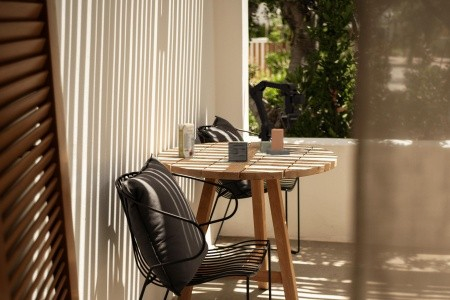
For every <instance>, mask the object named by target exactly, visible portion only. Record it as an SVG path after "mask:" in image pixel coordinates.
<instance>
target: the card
mask: <svg viewBox="0 0 450 300" xmlns="http://www.w3.org/2000/svg"><path fill="white" fill-rule="evenodd" d="M291 151H292V152H294V153H298V152H299V153H301V152H302V153H304V152H305V153H306V152H308V150H307V149H304V148H303V149H302V148H301V149H298V148H297V149H291Z"/></svg>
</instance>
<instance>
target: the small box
mask: <svg viewBox="0 0 450 300" xmlns="http://www.w3.org/2000/svg"><path fill="white" fill-rule="evenodd" d="M227 145H228V146H227V148H228V149H227V150H228V154H227V155H228V158H227V159H228V160H227V163H228V162H229V163H230V162H232V163H233V162H234V163H235V162H237V163H239V162H242V163H243V162H244V163H246V162H248V158H249V156H248V155H249V154H248V148H249V147H248V145H249V144H248V141H229V142H228V143H227Z"/></svg>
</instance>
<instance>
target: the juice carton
mask: <svg viewBox="0 0 450 300" xmlns="http://www.w3.org/2000/svg"><path fill="white" fill-rule="evenodd" d="M177 125H178V126H177V130H178V133H177V135H178V136H177V140H178V142H177V146H178V148H177V149H178V150H177V152H178V154H177V155H178V157H179V158H184V159H186V158H193V157H192V156H194V157H195V124H194V123H188V122H186V123H179V124H177Z"/></svg>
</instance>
